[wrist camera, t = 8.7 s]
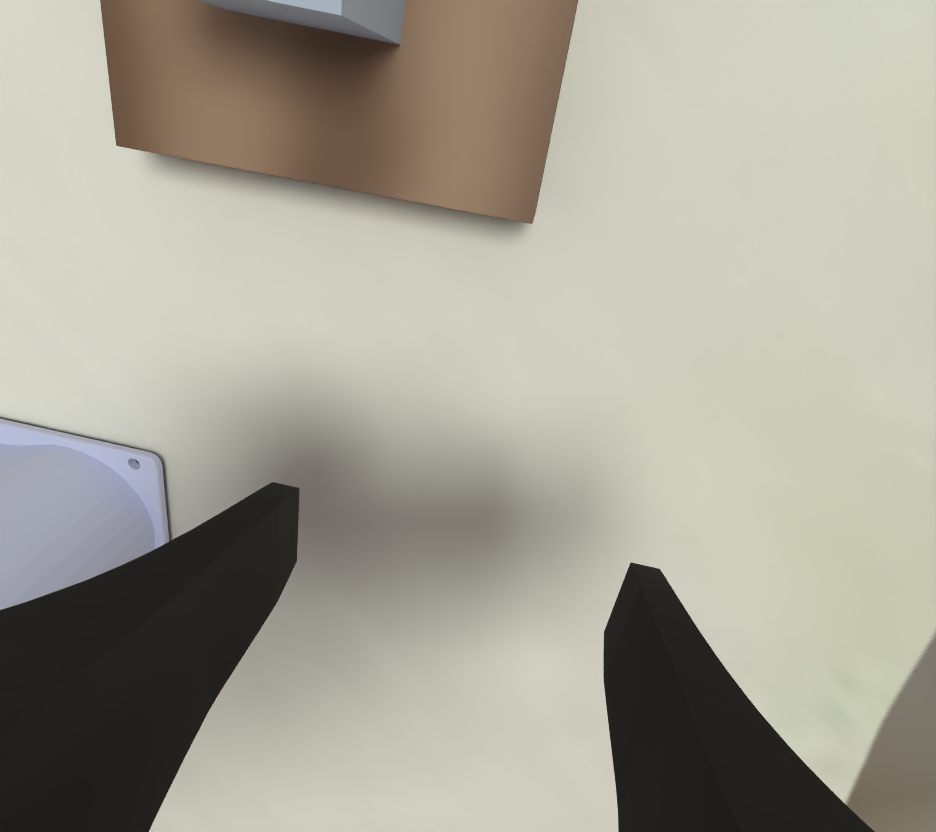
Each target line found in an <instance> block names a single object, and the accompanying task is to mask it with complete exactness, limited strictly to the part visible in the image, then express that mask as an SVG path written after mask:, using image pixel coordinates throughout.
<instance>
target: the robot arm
mask: <svg viewBox="0 0 936 832" xmlns="http://www.w3.org/2000/svg"><path fill="white" fill-rule="evenodd" d="M135 459H136V460H137V461H138V462H139V463H137V462H136V461H135ZM298 512H299V488H296V487H292V486H287V485H283V484H278V483H274V482H272V483H270V484H268V485H267V486H265V487H263V488H261V489H260V490H258V491H256V492H255V493H253V494H251V495H250V496H248V497H246V498H245V499H243V500H241V501H240V502H238V503H237V504H235V505H233V506H232V507H230V508H228V509H227V510H225V511H223V512H222V513H220V514H218V515H216V516H215V517H213V518H211V519H210V520H208V521H206V522H204V523H203V524H201V525H199V526H197V527H196V528H194V529H192V530H190V531H189V532H187V533H185V534H183V535H181V536H179V537H177V538H175V539H173V540H171V541H169V532H168V521H167V511H166V500H165V489H164V479H163V468H162V463H161V460H160V459H159V457H158V456H156V455H155V454H153V453H151V452H147V451H143V450H138V449H134V448H129V447H125V446H120V445H116V444H111V443H107V442H102V441H98V440H94V439H89V438H85V437H80V436H76V435H71V434H67V433H62V432H58V431H53V430H49V429H44V428H40V427H36V426H31V425H27V424H22V423H18V422H13V421H9V420H4V419H0V832H149V830H150V828H151V826H152V823H153V821H154V819H155V817H156V815H157V813H158V811H159V809H160V806H161V804H162V802H163V800H164V798H165V796H166V794H167V792H168V790H169V788H170V786H171V784H172V782H173V780H174V778H175V776H176V774H177V772H178V770H179V768H180V766H181V764H182V762H183V760H184V758H185V756H186V754H187V752H188V750H189V748H190V746H191V744H192V742H193V740H194V738H195V736H196V734H197V732H198V731H199V729H200V727H201V725H202V723H203V721H204V719H205V717H206V715H207V713H208V711H209V710H210V708H211V706H212V704H213V703H214V701H215V699H216V698H217V696H218V694H219V693H220V691H221V689H222V688H223V686H224V685H225V683H226V682H227V680H228V678H229V677H230V675H231V674H232V672H233V671H234V669H235V668H236V666H237V664H238V663H239V661H240V660H241V658H242V657H243V655H244V654H245V652H246V650H247V649H248V647H249V646H250V644H251V643H252V641H253V640H254V638H255V636H256V635H257V633H258V632H259V630H260V629H261V627H262V625H263V624H264V622H265V621H266V619H267V617H268V616H269V614H270V613H271V611H272V610H273V608H274V606H275V605H276V603H277V601H278V599H279V597H280V595H281V593H282V591H283V589H284V587H285V585H286V583H287V581H288V579H289V576H290V574H291V572H292V570H293V568H294V566H295V563H296V561H297V539H298ZM604 686H605V696H606V705H607V714H608V722H609V731H610V739H611V748H612V756H613V765H614V773H615V782H616V791H617V804H618V824H619V832H874V831H873V830H872V829H871V828H870V827H869V826H868V825H867V824H865V823H864V822H863V821H862V820H861V819H860V818H859V817H858V816H857V815H856V814H855V813H854V812H853V811H852V810H851V809H850V808H849V807H848V806H847V805H845V804H844V803H843V802H842V801H841V800H840V799H839V798H838V797H837V796H836V795H835V794H834V793H833V792H832V791H831V790H830V789H829V788H828V787H827V786H826V785H825V784H824V783H823V782H822V781H821V780H820V778H819V777H818V776H817V775H816V774H815V773H814V772H813V771H812V770H811V769H810V768H809V767H808V766H807V765H806V764H805V763H804V762H803V761H802V760H801V759H800V758H799V757H798V756H797V755H796V753H795V752H794V751H793V750H792V749H791V748H790V747H789V746H788V745H787V744H786V742H785V741H784V740H783V739H782V738H781V737H780V735H779V734H778V733H777V732H776V731H775V730H774V729H773V727H772V726H771V725H770V724H769V723H768V722H767V721H766V719H765V718H764V717H763V716H762V715H761V714H760V712H759V711H758V710H757V709H756V707H755V706H754V705H753V704H752V703H751V701H750V700H749V699H748V697H747V696H746V695H745V694H744V692H743V691H742V690H741V688H740V687H739V686H738V684H737V683H736V682H735V680H734V679H733V678H732V677H731V675H730V674H729V673H728V671H727V670H726V669H725V667H724V666H723V664H722V663H721V662H720V660H719V659H718V657H717V656H716V655H715V653H714V652H713V650H712V649H711V647H710V646H709V644H708V643H707V642H706V640H705V639H704V637H703V636H702V634H701V633H700V631H699V630H698V628H697V627H696V625H695V624H694V622H693V621H692V619H691V617H690V616H689V614H688V613H687V611H686V610H685V608H684V606H683V605H682V603H681V602H680V600H679V599H678V597H677V595H676V594H675V592H674V591H673V589H672V587H671V586H670V584H669V583H668V581H667V580H666V578H665V576H664V575H663V573H662V572H661V570H660V569H657V568H653V567H648V566H644V565H639V564H635V563H630V566H629V568H628V571H627V573H626V576H625V579H624V581H623V584H622V586H621V589H620V592H619V594H618V597H617V600H616V602H615V605H614V607H613V610H612V613H611V615H610V618H609V620H608V623H607V626H606V628H605V631H604Z"/></svg>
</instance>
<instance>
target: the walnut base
mask: <svg viewBox="0 0 936 832" xmlns="http://www.w3.org/2000/svg"><path fill="white" fill-rule="evenodd" d="M100 2H101V11H102V20H103V29H104V38H105V47H106V56H107V65H108V74H109V83H110V92H111V101H112V110H113V119H114V128H115V137H116V146H120V147H126V148H131V149H136V150H142V151H147V152H152V153H158V154H163V155H168V156H174V157H179V158H184V159H190V160H195V161H200V162H205V163H211V164H216V165H221V166H227V167H232V168H237V169H243V170H248V171H253V172H259V173H264V174H269V175H275V176H280V177H285V178H291V179H296V180H301V181H307V182H312V183H317V184H323V185H328V186H333V187H339V188H344V189H349V190H355V191H360V192H365V193H371V194H376V195H381V196H386V197H392V198H397V199H402V200H408V201H413V202H418V203H424V204H429V205H434V206H440V207H445V208H450V209H456V210H461V211H466V212H472V213H477V214H482V215H488V216H493V217H498V218H504V219H509V220H514V221H520V222H525V223H530V224H532V223H533V219H534V216H535V212H536V207H537V202H538V197H539V192H540V187H541V182H542V177H543V173H544V168H545V163H546V158H547V153H548V148H549V143H550V138H551V133H552V128H553V123H554V118H555V113H556V108H557V103H558V98H559V93H560V88H561V83H562V78H563V73H564V69H565V64H566V59H567V54H568V49H569V44H570V39H571V34H572V29H573V24H574V19H575V14H576V9H577V4H578V0H406V1H405V11H404V20H403V29H402V39H401V45H399V44H394V43H389V42H384V41H379V40H374V39H369V38H364V37H359V36H354V35H349V34H344V33H339V32H334V31H329V30H324V29H319V28H314V27H309V26H304V25H299V24H294V23H289V22H284V21H279V20H274V19H269V18H264V17H259V16H254V15H249V14H244V13H239V12H234V11H229V10H225V9H222V8H220V7H217V6H214V5H211V4H208V3H205V2H202V1H199V0H100Z"/></svg>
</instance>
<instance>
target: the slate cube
mask: <svg viewBox="0 0 936 832" xmlns="http://www.w3.org/2000/svg"><path fill="white" fill-rule="evenodd" d="M199 1H202V2H205V3H208V4H211V5H214V6H217V7H220V8H222V9H225V10H229V11H234V12H239V13H244V14H249V15H254V16H259V17H264V18H269V19H274V20H279V21H284V22H289V23H294V24H299V25H304V26H309V27H314V28H319V29H324V30H329V31H334V32H339V33H344V34H349V35H354V36H359V37H364V38H369V39H374V40H379V41H384V42H389V43H394V44H399V45H401V39H402V29H403V20H404V11H405V1H406V0H199Z"/></svg>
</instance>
